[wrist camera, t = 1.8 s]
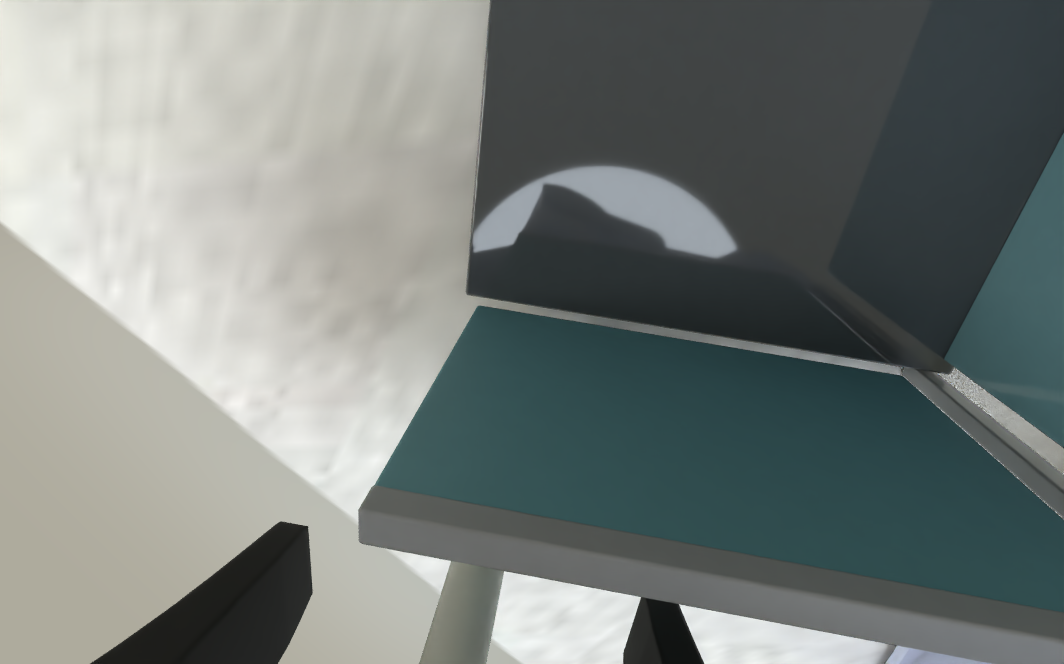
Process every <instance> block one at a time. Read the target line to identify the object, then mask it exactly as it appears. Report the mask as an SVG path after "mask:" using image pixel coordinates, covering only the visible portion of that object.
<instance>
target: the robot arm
mask: <svg viewBox="0 0 1064 664" xmlns="http://www.w3.org/2000/svg"><path fill="white" fill-rule="evenodd" d="M311 595H312V577H311V562H310V548H309V533H308V526H303V525H297V524H292V523H287V522H279V523H277V524H276V525H275V526H273V527H272V528H271V529H270V530H268V531H267V532H266V533H265V534H263V535H262V536H261V537H260V538H258V539H257V540H256V541H255V542H254V543H252V544H251V545H250V546H249V547H247V548H246V549H245V550H244V551H242V552H241V553H240V554H239V555H237V556H236V557H235V558H234V559H232V560H231V561H230V562H229V563H228V564H226V565H225V566H224V567H222V568H221V569H220V570H219V571H217V572H216V573H215V574H214V575H212V576H211V577H210V578H208V579H207V580H206V581H204V582H203V583H202V584H201V585H199V586H198V587H197V588H196V589H194V590H193V591H192V592H190V593H189V594H187V595H186V596H185V597H184V598H182V599H181V600H180V601H178V602H177V603H176V604H175V605H173V606H172V607H170V608H169V609H168V610H166V611H165V612H164V613H162V614H161V615H159V616H158V617H157V618H155V619H154V620H152V621H151V622H150V623H148V624H147V625H146V626H144V627H143V628H141V629H140V630H138V631H137V632H136V633H134V634H133V635H131V636H130V637H129V638H127V639H126V640H124V641H123V642H122V643H120V644H119V645H117V646H116V647H114V648H113V649H111V650H110V651H108V652H107V653H106V654H104V655H103V656H101V657H100V658H98V659H97V660H95V661H94V662H92V663H91V664H278V662H279V660H280V659H281V657H282V655H283V654H284V652H285V650H286V648H287V647H288V645H289V643H290V641H291V639H292V637H293V635H294V633H295V630H296V628H297V626H298V624H299V622H300V620H301V618H302V615H303V613H304V611H305V609H306V606H307V604H308V602H309V600H310V597H311ZM623 664H704V662H703V660H702V658H701V655H700V653H699V651H698V649H697V647H696V644H695V642H694V640H693V637H692V635H691V633H690V630H689V628H688V626H687V623H686V621H685V618H684V616H683V614H682V611H681V609H680V606H679V604H676V603H670V602H665V601H660V600H655V599H649V598H644V597H641V600H640V603H639V606H638V609H637V612H636V615H635V619H634V622H633V625H632V628H631V631H630V634H629V637H628V640H627V643H626V647H625V650H624V653H623ZM885 664H991V663H986V662H981V661H975V660H970V659H965V658H960V657H954V656H949V655H944V654H939V653H933V652H928V651H923V650H918V649H912V648H907V647H902V646H896V648H895V650H894V651H893V653H892V654H891V656H890V657H889V659H888V660H887V662H886V663H885Z"/></svg>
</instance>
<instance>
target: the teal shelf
mask: <svg viewBox="0 0 1064 664" xmlns="http://www.w3.org/2000/svg"><path fill="white" fill-rule="evenodd" d="M359 542H360V543H362V544H366V545H371V546H376V547H381V548H387V549H392V550H397V551H402V552H408V553H413V554H418V555H423V556H429V557H434V558H439V559H444V560H450V561H451V564H450V567H449V570H448V573H447V577H446V580H445V583H444V586H443V589H442V593H441V596H440V599H439V602H438V605H437V608H436V612H435V615H434V618H433V621H432V625H431V628H430V631H429V634H428V637H427V640H426V644H425V647H424V650H423V653H422V656H421V660H420V663H419V664H486V662H487V656H488V651H489V646H490V641H491V636H492V631H493V625H494V620H495V615H496V610H497V605H498V600H499V595H500V589H501V584H502V579H503V574H504V571H507V572H513V573H518V574H523V575H528V576H534V577H539V578H544V579H550V580H555V581H560V582H565V583H571V584H576V585H581V586H586V587H592V588H597V589H602V590H607V591H613V592H618V593H623V594H628V595H634V596H639V597H644V598H649V599H655V600H660V601H665V602H670V603H676V604H681V605H686V606H691V607H697V608H702V609H707V610H712V611H718V612H723V613H728V614H734V615H739V616H744V617H749V618H755V619H760V620H765V621H770V622H776V623H781V624H786V625H791V626H797V627H802V628H807V629H812V630H818V631H823V632H828V633H833V634H839V635H844V636H849V637H854V638H860V639H865V640H870V641H875V642H881V643H886V644H891V645H896V646H902V647H907V648H912V649H918V650H923V651H928V652H933V653H939V654H944V655H949V656H954V657H960V658H965V659H970V660H975V661H981V662H986V663H991V664H1064V520H1063V519H1062V518H1061V517H1060V516H1059V515H1058V514H1056V513H1055V512H1054V511H1053V510H1052V509H1051V508H1050V507H1049V506H1048V505H1046V504H1045V503H1044V502H1043V501H1042V500H1041V499H1040V498H1039V497H1037V496H1036V495H1035V494H1034V493H1033V492H1032V491H1031V490H1030V489H1028V488H1027V487H1026V486H1025V485H1024V484H1023V483H1022V482H1021V481H1020V480H1018V479H1017V478H1016V477H1015V476H1014V475H1013V474H1012V473H1011V472H1009V471H1008V470H1007V469H1006V468H1005V467H1004V466H1003V465H1002V464H1001V463H999V462H998V461H997V460H996V459H995V458H994V457H993V456H992V455H990V454H989V453H988V452H987V451H986V450H985V449H984V448H983V447H982V446H980V445H979V444H978V443H977V442H976V441H975V440H974V439H973V438H971V437H970V436H969V435H968V434H967V433H966V432H965V431H964V430H963V429H961V428H960V427H959V426H958V425H957V424H956V423H955V422H954V421H952V420H951V419H950V418H949V417H948V416H947V415H946V414H945V413H943V412H942V411H941V410H940V409H939V408H938V407H937V406H936V405H935V404H933V403H932V402H931V401H930V400H929V399H928V398H927V397H926V396H924V395H923V394H922V393H921V392H920V391H919V390H918V389H917V388H916V387H914V386H913V385H912V384H911V383H910V382H909V381H908V380H907V379H905V378H904V377H903V376H900V375H894V374H888V373H882V372H876V371H870V370H864V369H858V368H852V367H846V366H840V365H834V364H828V363H822V362H816V361H810V360H804V359H798V358H792V357H786V356H780V355H774V354H768V353H762V352H756V351H750V350H744V349H738V348H732V347H726V346H720V345H714V344H708V343H702V342H696V341H690V340H684V339H678V338H672V337H666V336H660V335H654V334H648V333H642V332H636V331H630V330H624V329H618V328H612V327H605V326H599V325H593V324H587V323H581V322H575V321H569V320H563V319H557V318H551V317H545V316H539V315H533V314H527V313H521V312H515V311H509V310H503V309H497V308H491V307H485V306H477V308H476V310H475V311H474V313H473V315H472V317H471V318H470V320H469V322H468V323H467V325H466V327H465V329H464V330H463V332H462V334H461V336H460V337H459V339H458V341H457V343H456V344H455V346H454V348H453V350H452V351H451V353H450V355H449V357H448V358H447V360H446V362H445V364H444V365H443V367H442V369H441V370H440V372H439V374H438V376H437V377H436V379H435V381H434V383H433V384H432V386H431V388H430V390H429V391H428V393H427V395H426V397H425V398H424V400H423V402H422V404H421V405H420V407H419V409H418V411H417V412H416V414H415V416H414V417H413V419H412V421H411V423H410V424H409V426H408V428H407V430H406V431H405V433H404V435H403V437H402V438H401V440H400V442H399V444H398V445H397V447H396V449H395V451H394V452H393V454H392V456H391V457H390V459H389V461H388V463H387V464H386V466H385V468H384V470H383V471H382V473H381V475H380V477H379V478H378V480H377V482H376V484H375V485H374V486H373V487H372V488H371V489H370V491H369V493H368V495H367V496H366V498H365V500H364V501H363V503H362V505H361V507H360V508H359Z"/></svg>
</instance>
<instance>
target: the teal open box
mask: <svg viewBox="0 0 1064 664" xmlns="http://www.w3.org/2000/svg"><path fill="white" fill-rule="evenodd" d="M466 294H467V295H471V296H477V297H483V298H489V299H495V300H501V301H507V302H513V303H519V304H525V305H531V306H537V307H543V308H550V309H556V310H562V311H568V312H574V313H580V314H586V315H592V316H598V317H604V318H610V319H616V320H622V321H628V322H634V323H640V324H646V325H652V326H658V327H664V328H670V329H676V330H683V331H689V332H695V333H701V334H707V335H713V336H719V337H725V338H731V339H737V340H743V341H749V342H755V343H761V344H767V345H773V346H779V347H785V348H791V349H797V350H803V351H810V352H816V353H822V354H828V355H834V356H840V357H846V358H852V359H858V360H864V361H870V362H876V363H882V364H888V365H894V366H900V367H905V368H904V370H903V372H902V375H903V376H904V377H905V378H906V379H908V380H909V381H910V382H911V383H912V384H913V385H914V386H915V387H917V388H918V389H919V390H920V391H921V392H922V393H923V394H924V395H926V396H927V397H928V398H929V399H930V400H931V401H932V402H933V403H935V404H936V405H937V406H938V407H939V408H940V409H941V410H942V411H943V412H945V413H946V414H947V415H948V416H949V417H950V418H951V419H952V420H954V421H955V422H956V423H957V424H958V425H959V426H960V427H961V428H963V429H964V430H965V431H966V432H967V433H968V434H969V435H970V436H972V437H973V438H974V439H975V440H976V441H977V442H978V443H979V444H981V445H982V446H983V447H984V448H985V449H986V450H987V451H988V452H989V453H991V454H992V455H993V456H994V457H995V458H996V459H997V460H998V461H1000V462H1001V463H1002V464H1003V465H1004V466H1005V467H1006V468H1007V469H1009V470H1010V471H1011V472H1012V473H1013V474H1014V475H1015V476H1016V477H1018V478H1019V479H1020V480H1021V481H1022V482H1023V483H1024V484H1025V485H1027V486H1028V487H1029V488H1030V489H1031V490H1032V491H1033V492H1034V493H1035V494H1037V495H1038V496H1039V497H1040V498H1041V499H1042V500H1043V501H1044V502H1046V503H1047V504H1048V505H1049V506H1050V507H1051V508H1052V509H1053V510H1055V511H1056V512H1057V513H1058V514H1059V515H1060V516H1061V517H1062V518H1064V474H1062V473H1061V472H1060V471H1059V470H1057V469H1056V468H1055V467H1054V466H1052V465H1051V464H1050V463H1049V462H1047V461H1046V460H1045V459H1044V458H1042V457H1041V456H1040V455H1039V454H1037V453H1036V452H1035V451H1034V450H1032V449H1031V448H1030V447H1029V446H1027V445H1026V444H1025V443H1023V442H1022V441H1021V440H1020V439H1018V438H1017V437H1016V436H1015V435H1013V434H1012V433H1011V432H1010V431H1008V430H1007V429H1006V428H1005V427H1003V426H1002V425H1001V424H1000V423H998V422H997V421H996V420H995V419H993V418H992V417H991V416H990V415H988V414H987V413H986V412H985V411H983V410H982V409H981V408H980V407H978V406H977V405H976V404H975V403H973V402H972V401H971V400H970V399H968V398H967V397H966V396H965V395H963V394H962V393H961V392H960V391H958V390H957V389H956V388H955V387H953V386H952V385H951V384H949V383H948V382H947V381H946V380H944V379H943V378H942V377H941V376H939V375H938V374H937V373H943V374H950V373H951V372H952V371H953V369H954V367H955V368H956V369H958V370H959V371H960V372H962V373H963V374H964V375H966V376H967V377H968V378H970V379H971V380H972V381H974V382H975V383H977V384H978V385H979V386H981V387H982V388H983V389H985V390H986V391H987V392H989V393H990V394H991V395H993V396H994V397H995V398H997V399H998V400H999V401H1001V402H1002V403H1004V404H1005V405H1006V406H1008V407H1009V408H1010V409H1012V410H1013V411H1014V412H1016V413H1017V414H1018V415H1020V416H1021V417H1022V418H1024V419H1025V420H1026V421H1028V422H1029V423H1031V424H1032V425H1033V426H1035V427H1036V428H1037V429H1039V430H1040V431H1041V432H1043V433H1044V434H1045V435H1047V436H1048V437H1049V438H1051V439H1052V440H1053V441H1055V442H1056V443H1058V444H1059V445H1060V446H1062V447H1063V448H1064V0H490V6H489V18H488V30H487V42H486V54H485V66H484V78H483V90H482V102H481V115H480V127H479V139H478V151H477V163H476V175H475V187H474V199H473V211H472V223H471V235H470V247H469V259H468V271H467V283H466ZM936 372H937V373H936Z"/></svg>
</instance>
